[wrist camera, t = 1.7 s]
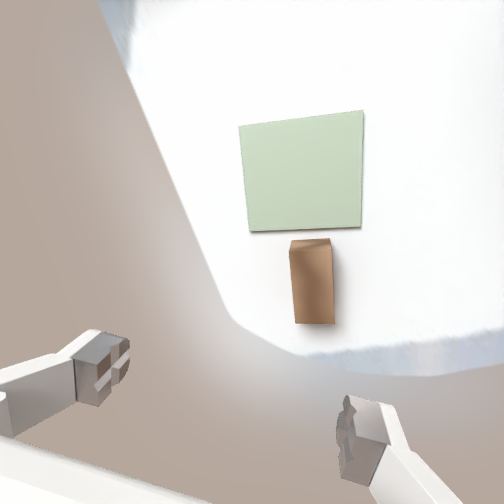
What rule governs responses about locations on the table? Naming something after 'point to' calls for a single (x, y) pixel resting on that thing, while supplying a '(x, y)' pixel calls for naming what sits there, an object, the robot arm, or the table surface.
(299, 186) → the rubber mat
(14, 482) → the robot arm
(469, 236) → the table surface
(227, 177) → the table surface
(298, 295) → the box
